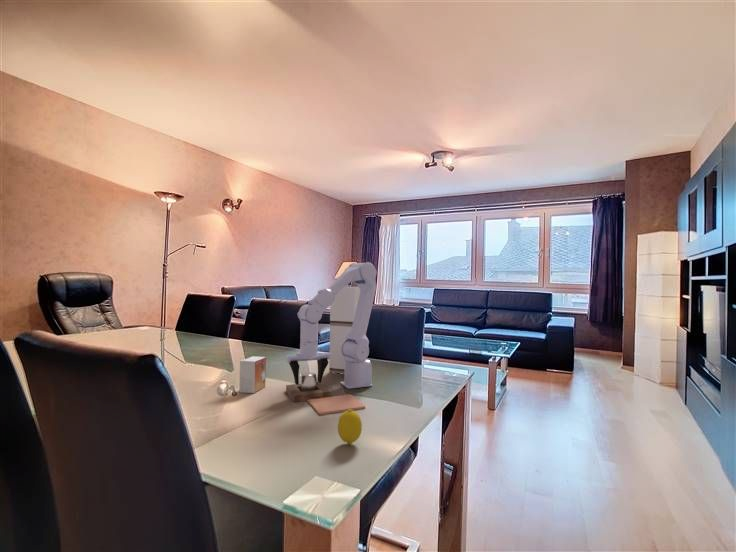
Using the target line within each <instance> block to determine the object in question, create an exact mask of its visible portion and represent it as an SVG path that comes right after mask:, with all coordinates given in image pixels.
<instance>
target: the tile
mask: <svg viewBox="0 0 736 552" xmlns="http://www.w3.org/2000/svg"><path fill="white" fill-rule="evenodd" d="M307 402H308V404H309V405H310V406H311V407H312V408H313V409H314V410H315V412H316V413H317V414H318V415H319V416H322V415H329V414H335V413H344V412H345V411H348V410H349V409H351V410H352V411H355V410H363V409H366V405H365V404H363V403H362V402H361V401H359V400H358V399H357V398H355V397H354V396H353V395H352V394H343V395H335V396H332V397H325V398H318V399H310V400H308V401H307Z"/></svg>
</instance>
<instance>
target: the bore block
mask: <svg viewBox="0 0 736 552" xmlns="http://www.w3.org/2000/svg"><path fill="white" fill-rule="evenodd" d="M285 392H286V393H287V394H288V396H289V397H290V398H291V400H292V401H293V402H294V403H298V402H306V401H307V402H308V400H310V399H318V398H325V397H333V396H332V394H333V393H332V389H330V388H329V387H327V386H326V385H325V384H324V383H323V382H322V381H321V382H318V381H316V390H314V391H305V392H301V383H299V384H298V385H296V384H295V383H294V384H287V385H286V384H285Z"/></svg>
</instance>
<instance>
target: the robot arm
mask: <svg viewBox="0 0 736 552" xmlns="http://www.w3.org/2000/svg"><path fill="white" fill-rule="evenodd" d="M377 274H378V271H377V269H376V267H375V266H374V264H373V263H372V262H368V261H367V262H353V263H350V264H349V265H348V266H347V267H345V268H344V270H343V272H342V273H341V274H340V275H339V276H338V277H337V279H336V280H335V281H334V282H333V283H332V284H331V285H330V286H328V288H322V289H319V290H318V291H317V294H316V295H315V296H314V297H313V298H311V299H309V300H308V301H307V302H308V303H307V304H303V305H302V306H301V307H300V308H299V310H298V312H297V313H296V314H297V318H298V319H299V322H300V334H299V335H300V337H299V338H300V341H299V342H300V343H299V353H296V354H290V355H285V362H286V363H288V364H289V367H290V370H291V371H292V374H293V378H294V379H293V380H294V384H296V385H298V384H300V380H299V379H300V377H299V374H300V367H301V365H300V364H299V362H306V361H307V362H308V361H310V362H311V361H317V382H322V380H323V377H324V374H325V371H326V369H327V367H328V366H329V360H330V359H331V354H330V352H318V351H319V347H318V346H319V321H321V319H322V316H323V314H324V313H325V311H326V310H327V309H328V308H330V305H331V304H332V303H333V302H334V301H335V295H336V294H337V293H339V292H340V291H341V290H342V289H343V288H344V287H348V285H349V284H350V283H352V282H353V283H354V284H356V285H357V287H359V288H360V295H359V299H358V304H357V308H356V312H355V316H354V321H353V325H352V329H351V332H350V333H349V334H348V335H347V336H346V338H345V341H344V342H343V344H342V346H341V353H342V354H343V356H344V359H345V369H344V374H343V376H344V377H343V378H344V379H343V380H344V381H340V384H341V385H342V386H344V387H345V388H346V389H347V390H348V389H357V388H366V387H373V384H372V383H373V381H372V380H373V378H372V377H373V375H372V373H373V366H372V363H371V360H369V359H368V356H369V354H370V347H369V344H370V341H369V339H368V337H367V332H368V331H367V330H368V326H369V322H370V319H371V318H370V317H371V313H372V308H373V305H374V300H375V295H376V291H377V282H376V278H377ZM356 341H357V342H356Z"/></svg>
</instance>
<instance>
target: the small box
mask: <svg viewBox="0 0 736 552" xmlns="http://www.w3.org/2000/svg"><path fill="white" fill-rule="evenodd" d="M266 367H267V357H266V356H253V355H252V356H250V357H248V358H247V357H246V358H245V359H241V360H240V361H239V388H238V389H239V391H238V392H239V393H247V394H255V393H257V392H259V391H261V390H262V389H265V388H266V379H267V378H266V376H267V375H266V374H267V371H266V370H267V368H266Z"/></svg>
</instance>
